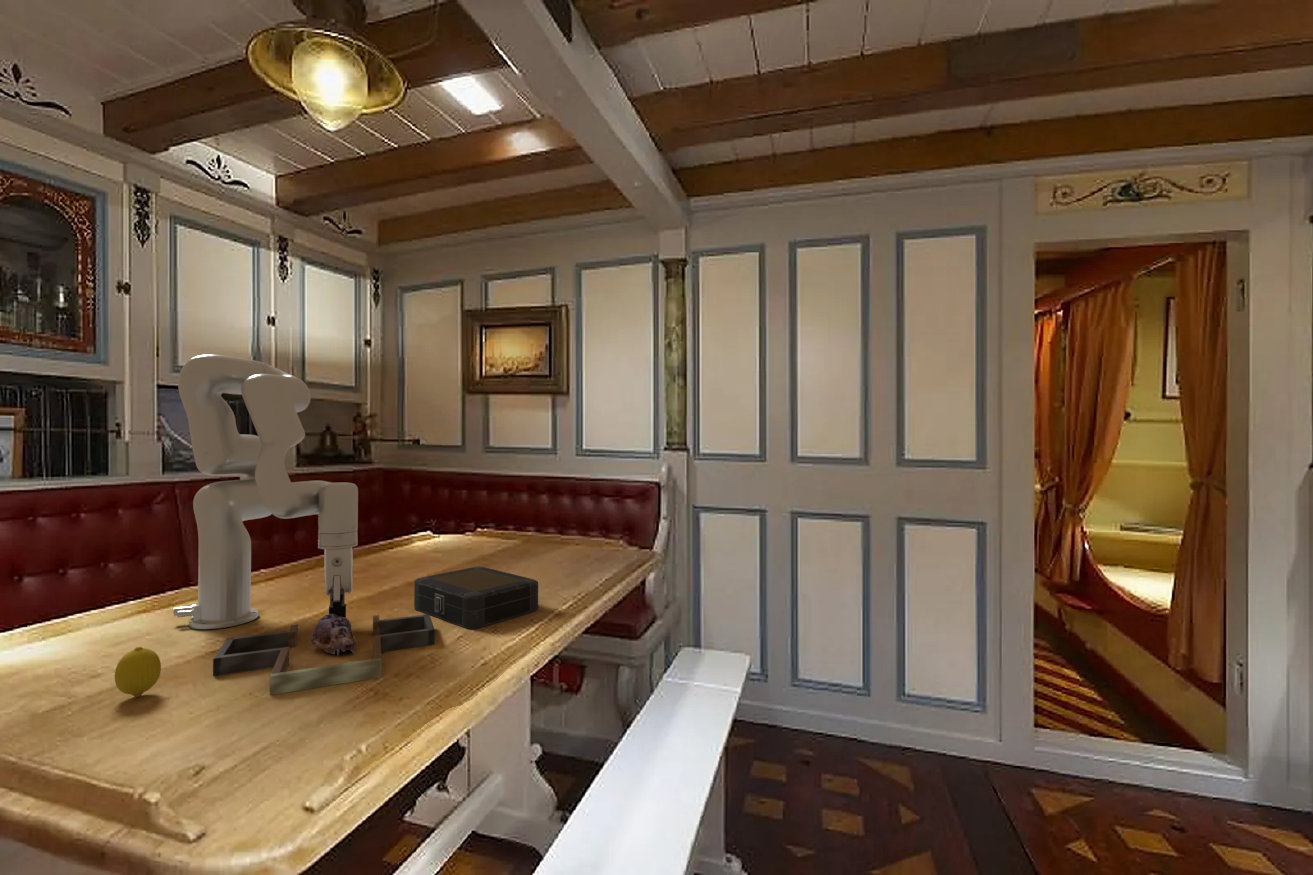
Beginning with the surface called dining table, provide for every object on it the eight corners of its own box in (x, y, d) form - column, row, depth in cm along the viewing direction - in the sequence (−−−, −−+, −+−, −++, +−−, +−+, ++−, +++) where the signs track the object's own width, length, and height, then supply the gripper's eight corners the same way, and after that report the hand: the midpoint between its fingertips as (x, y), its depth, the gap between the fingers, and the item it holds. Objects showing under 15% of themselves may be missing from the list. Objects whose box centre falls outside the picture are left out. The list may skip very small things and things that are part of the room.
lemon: (168, 692, 94) (169, 643, 94) (128, 707, 89) (128, 655, 89) (146, 687, 96) (147, 639, 96) (105, 701, 91) (106, 650, 91)
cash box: (408, 610, 140) (409, 579, 140) (479, 593, 156) (480, 565, 156) (468, 633, 125) (469, 597, 125) (540, 611, 141) (541, 579, 141)
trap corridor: (192, 707, 89) (192, 687, 89) (231, 647, 114) (231, 631, 114) (441, 667, 105) (441, 651, 105) (427, 622, 130) (427, 609, 130)
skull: (364, 654, 112) (364, 622, 112) (319, 664, 107) (319, 631, 107) (349, 637, 121) (350, 608, 121) (307, 645, 116) (308, 615, 116)
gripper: (357, 544, 120) (356, 631, 120) (357, 533, 133) (357, 612, 133) (315, 546, 116) (314, 637, 116) (320, 535, 130) (319, 616, 130)
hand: (337, 623), depth 125 cm, fingers closed
